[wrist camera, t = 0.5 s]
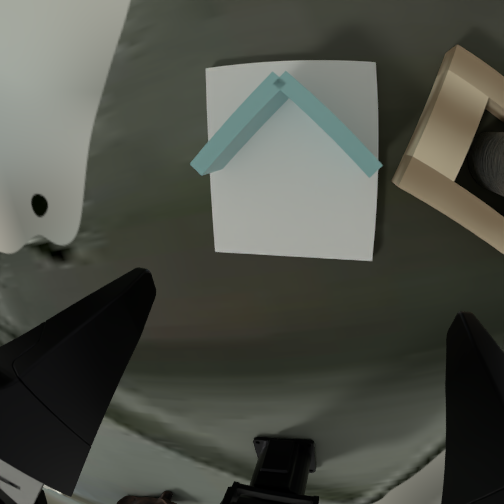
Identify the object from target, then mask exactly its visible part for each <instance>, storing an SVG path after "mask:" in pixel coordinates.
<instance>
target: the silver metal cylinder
mask: <svg viewBox="0 0 504 504" xmlns="http://www.w3.org/2000/svg"><path fill="white" fill-rule="evenodd" d="M468 166H469V170H470V173H471V175H472V177H473V178H474V180H475V181H476V182H477V183H478V184H479V185H480V186H482V187H483V188H485V189H488V190H490V191H492V192H495V193H497V194H499V195H501V196H504V132H484V133H481V134H479V135H478V136H477V137H475V139H474V140H473V141H472V143H471V145H470V148H469V151H468Z"/></svg>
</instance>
